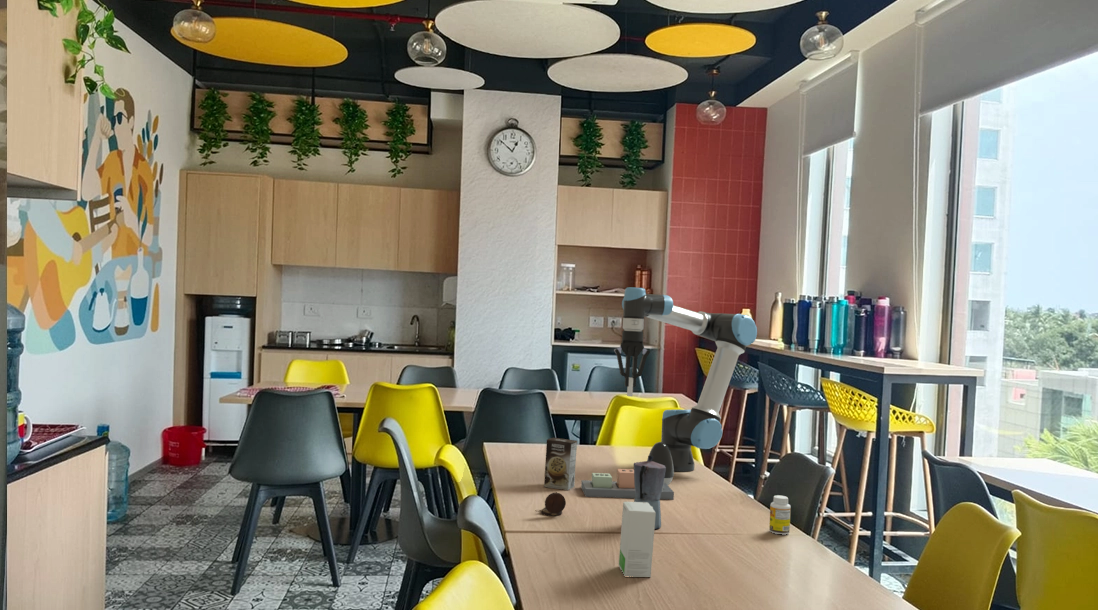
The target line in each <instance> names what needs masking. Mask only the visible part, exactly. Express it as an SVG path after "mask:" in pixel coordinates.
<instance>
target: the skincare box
mask: <svg viewBox="0 0 1098 610" xmlns="http://www.w3.org/2000/svg"><path fill="white" fill-rule="evenodd" d="M655 516H656V512H655V511H654V510H653V507H652V506H650V504H649V503H648V502H634V501H623V502H622V515H621V525H620V526H621V529H620V540H619V541H620V542H619V554H618V555H619V556H618V567H619V570H620V571H621V570H622V571H621V573H622V572H623V573H622V575H623V574H624V575H623V577H624V576H629V577H630V576H631V577H632V576H633V577H651V578H652V568H653V567H652V564H653V562H652V561H653V552H654V539H655Z"/></svg>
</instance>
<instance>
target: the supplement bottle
mask: <svg viewBox="0 0 1098 610" xmlns="http://www.w3.org/2000/svg"><path fill="white" fill-rule="evenodd" d="M790 525H791V504H789V498H788V496H785V495H779V494H777V495H774V496H773V500H772V502H770V507H769V526H768V527H769V529H768V530H769V533H771V532H772V534H773V533H775V534H774V535H777V534H782V535H781V536H787V535H789V534H790V528H791V526H790ZM786 534H787V535H786Z"/></svg>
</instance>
